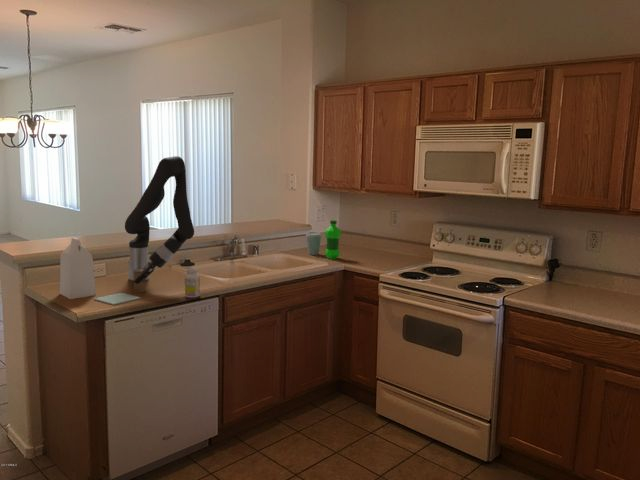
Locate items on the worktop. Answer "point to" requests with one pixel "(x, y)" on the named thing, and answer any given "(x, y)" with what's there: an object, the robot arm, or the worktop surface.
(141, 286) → the walnut block
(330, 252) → the plastic bottle
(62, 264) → the milk
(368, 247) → the worktop surface
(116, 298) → the sage board
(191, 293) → the supplement bottle
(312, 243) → the disposable coffee cup
